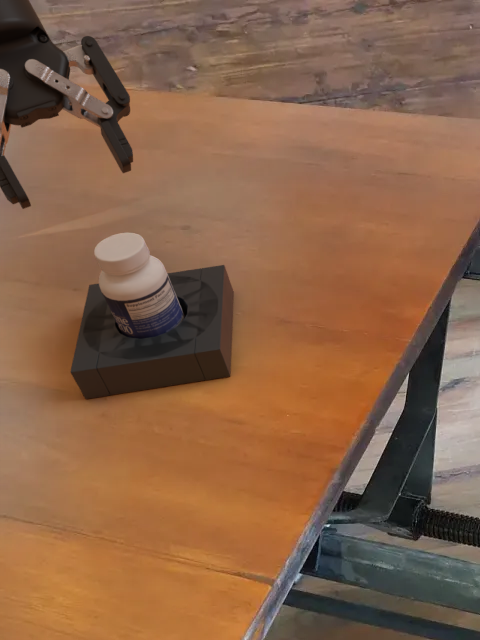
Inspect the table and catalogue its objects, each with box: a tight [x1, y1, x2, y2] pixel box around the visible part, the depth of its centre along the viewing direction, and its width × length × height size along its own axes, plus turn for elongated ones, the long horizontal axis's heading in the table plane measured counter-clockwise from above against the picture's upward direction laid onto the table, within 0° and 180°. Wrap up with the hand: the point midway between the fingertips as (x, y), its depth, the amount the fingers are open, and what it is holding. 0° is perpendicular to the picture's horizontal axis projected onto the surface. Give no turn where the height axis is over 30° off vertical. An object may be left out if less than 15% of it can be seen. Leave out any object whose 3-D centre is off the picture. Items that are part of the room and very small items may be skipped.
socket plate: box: [70, 264, 235, 400], centre depth 77 cm, size 12×12×3 cm
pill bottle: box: [93, 232, 185, 339], centre depth 74 cm, size 5×5×10 cm
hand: (77, 186), depth 73 cm, fingers open, 8 cm apart
